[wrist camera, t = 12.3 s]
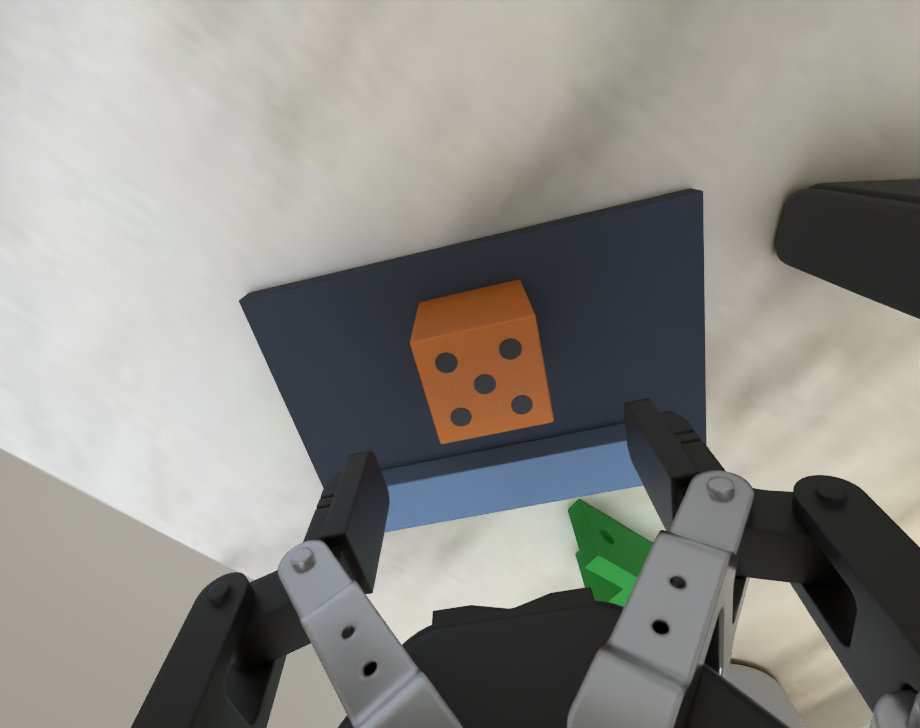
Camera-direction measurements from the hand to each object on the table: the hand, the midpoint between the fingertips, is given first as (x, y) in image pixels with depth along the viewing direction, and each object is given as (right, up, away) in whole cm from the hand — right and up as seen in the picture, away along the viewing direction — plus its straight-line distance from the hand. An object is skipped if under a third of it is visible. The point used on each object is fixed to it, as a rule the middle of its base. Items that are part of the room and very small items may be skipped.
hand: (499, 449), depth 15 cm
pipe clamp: (+10, -10, +17) cm, 22 cm away
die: (0, +4, +9) cm, 10 cm away
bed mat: (0, +2, +11) cm, 11 cm away
